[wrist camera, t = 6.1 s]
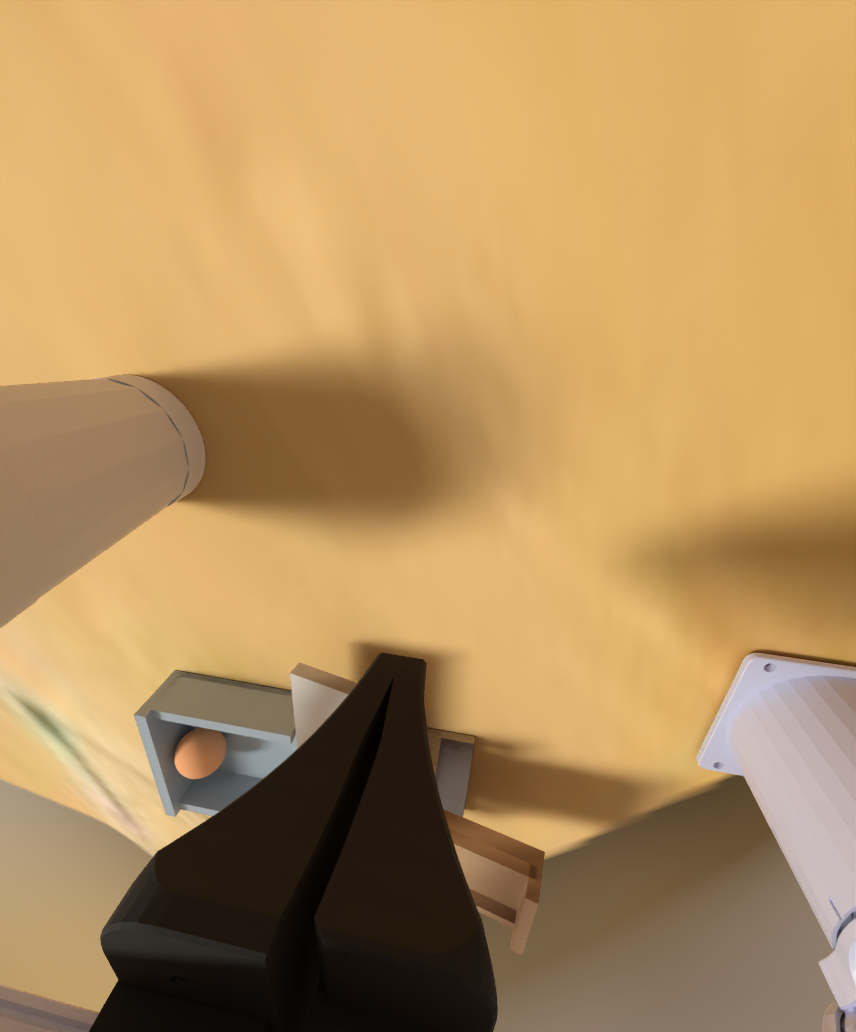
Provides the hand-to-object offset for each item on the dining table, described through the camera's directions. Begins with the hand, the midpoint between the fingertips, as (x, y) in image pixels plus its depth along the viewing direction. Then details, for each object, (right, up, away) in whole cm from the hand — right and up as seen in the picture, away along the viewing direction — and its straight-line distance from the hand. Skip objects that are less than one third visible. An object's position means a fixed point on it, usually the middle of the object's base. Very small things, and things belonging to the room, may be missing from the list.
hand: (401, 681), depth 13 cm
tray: (-11, -10, +17) cm, 23 cm away
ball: (-14, -10, +16) cm, 23 cm away
